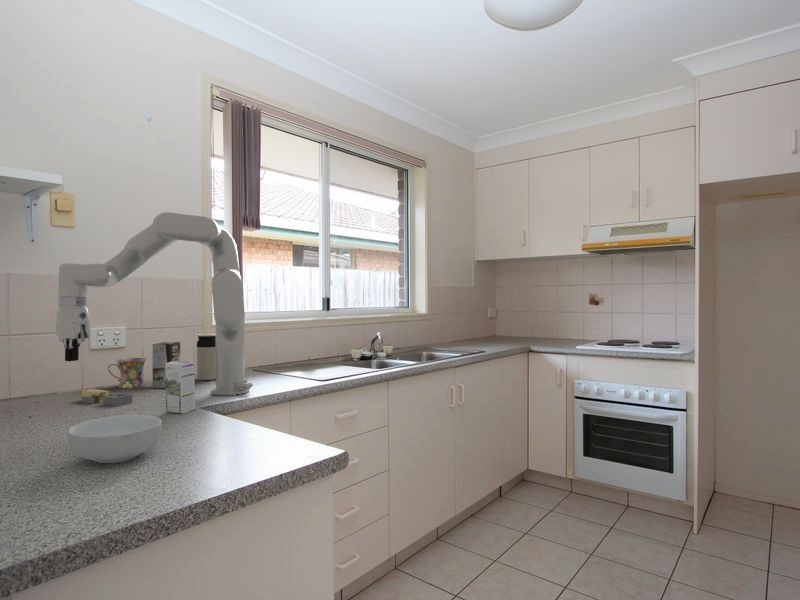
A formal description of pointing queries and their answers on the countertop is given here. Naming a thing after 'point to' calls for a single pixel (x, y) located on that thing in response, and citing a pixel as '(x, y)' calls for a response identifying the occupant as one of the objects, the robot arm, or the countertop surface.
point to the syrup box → (180, 386)
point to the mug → (130, 372)
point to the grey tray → (111, 399)
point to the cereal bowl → (114, 437)
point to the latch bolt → (95, 394)
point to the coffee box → (163, 361)
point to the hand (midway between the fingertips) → (71, 360)
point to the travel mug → (206, 357)
